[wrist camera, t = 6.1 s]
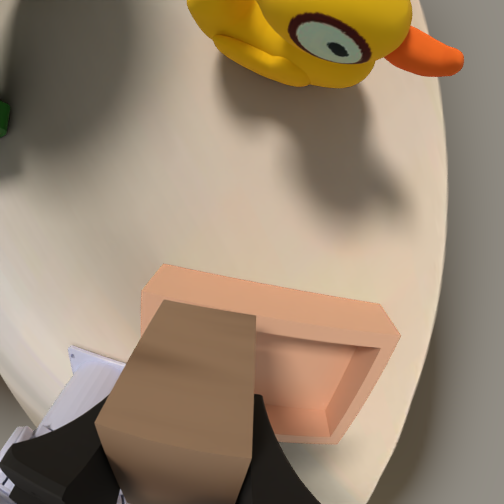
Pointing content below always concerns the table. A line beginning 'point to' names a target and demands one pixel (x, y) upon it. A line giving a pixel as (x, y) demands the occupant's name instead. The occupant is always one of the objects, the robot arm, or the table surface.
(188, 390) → the tan wooden block
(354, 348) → the pink rectangular tray
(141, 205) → the table surface
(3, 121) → the clamp
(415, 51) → the duckling
